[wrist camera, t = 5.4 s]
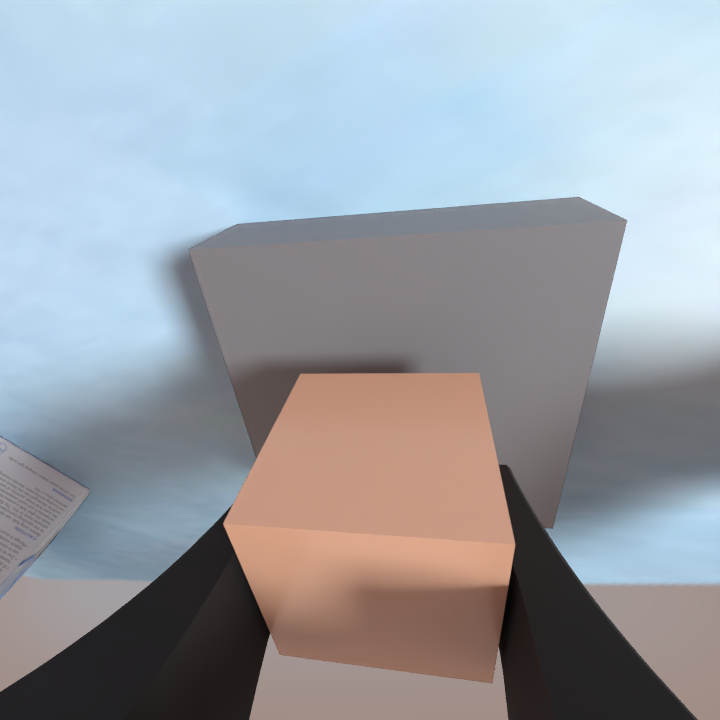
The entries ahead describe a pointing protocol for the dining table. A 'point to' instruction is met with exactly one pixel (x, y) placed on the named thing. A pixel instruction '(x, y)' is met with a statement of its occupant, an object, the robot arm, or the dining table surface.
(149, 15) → the dining table surface
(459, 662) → the terracotta block
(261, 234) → the grey square slab
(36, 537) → the light bulb box
